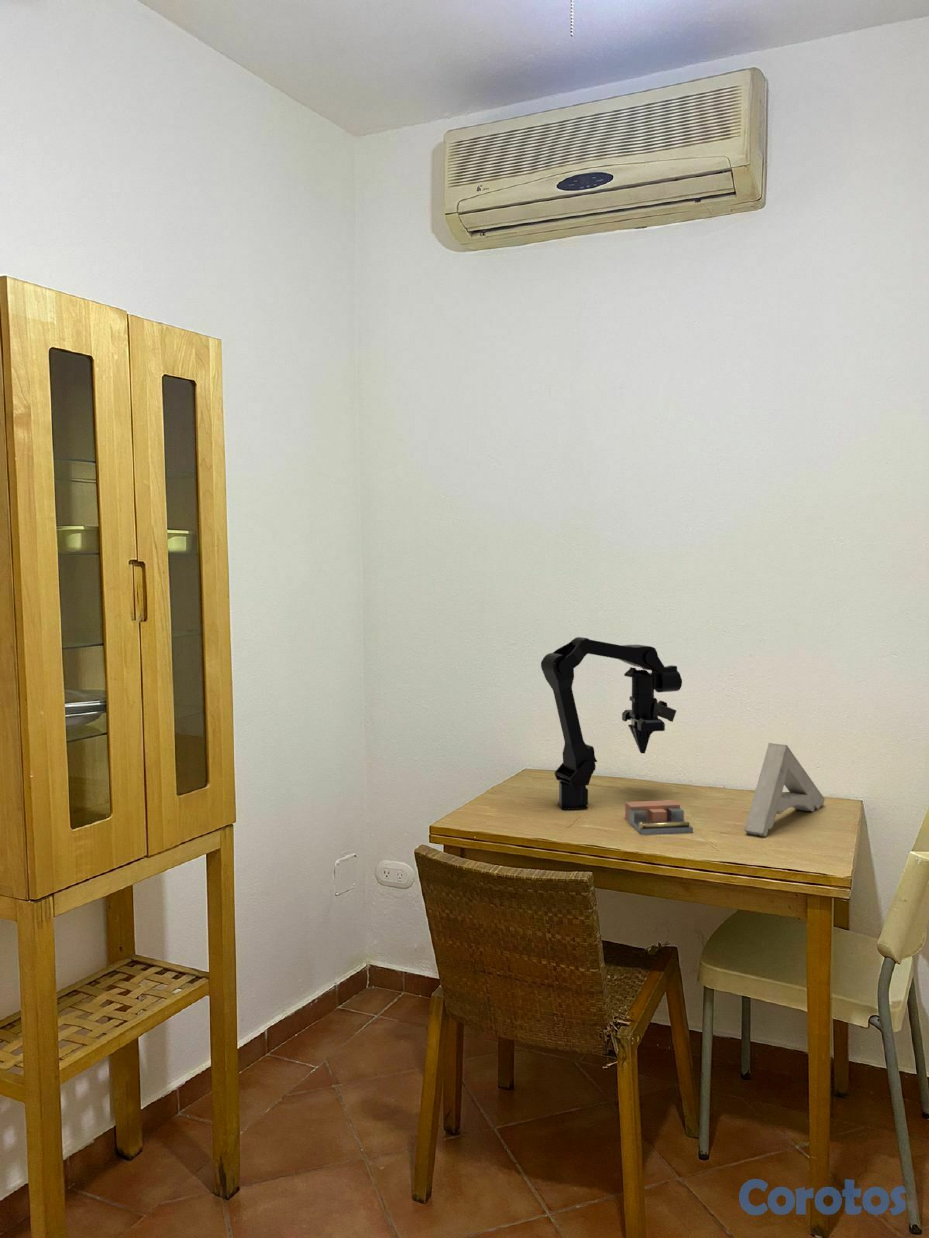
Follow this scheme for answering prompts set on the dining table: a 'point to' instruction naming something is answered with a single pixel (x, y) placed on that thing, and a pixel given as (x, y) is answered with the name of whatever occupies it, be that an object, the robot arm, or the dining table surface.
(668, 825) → the hinge pin
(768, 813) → the grey letter a
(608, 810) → the dining table surface
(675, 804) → the pink tabbed slab
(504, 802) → the dining table surface
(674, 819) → the fixed leaf
